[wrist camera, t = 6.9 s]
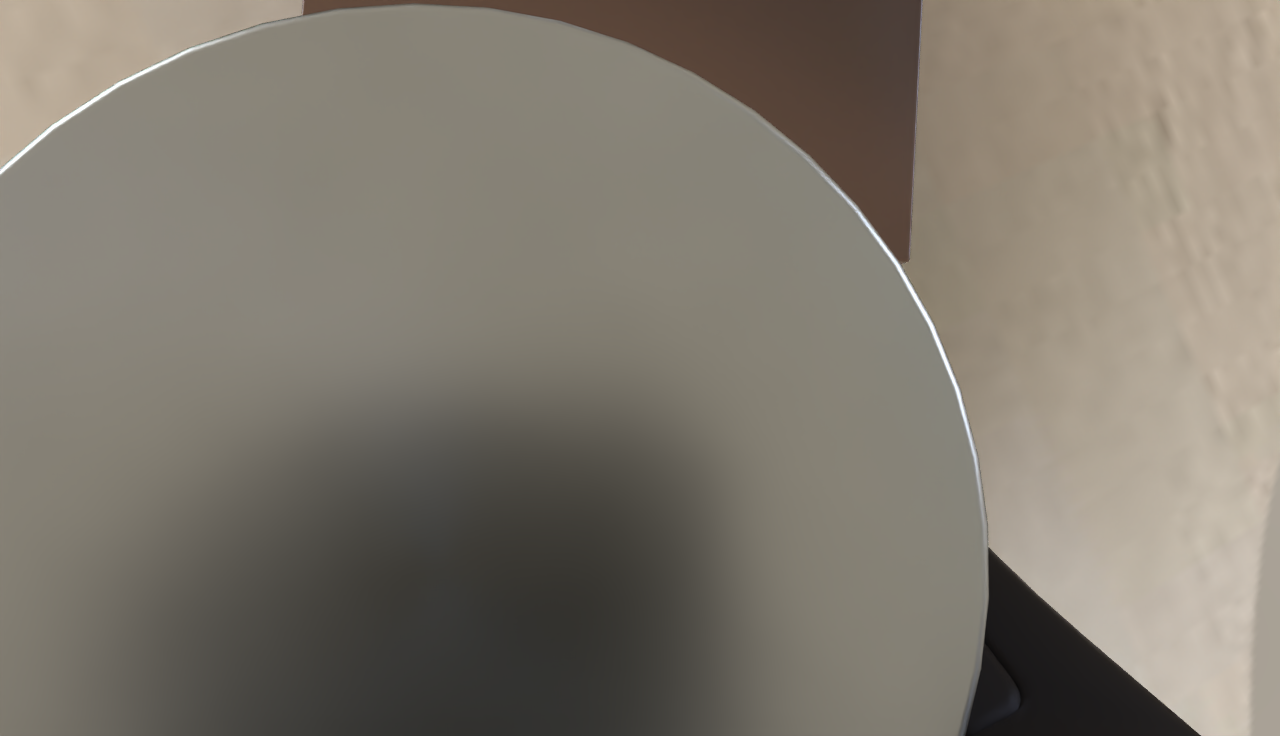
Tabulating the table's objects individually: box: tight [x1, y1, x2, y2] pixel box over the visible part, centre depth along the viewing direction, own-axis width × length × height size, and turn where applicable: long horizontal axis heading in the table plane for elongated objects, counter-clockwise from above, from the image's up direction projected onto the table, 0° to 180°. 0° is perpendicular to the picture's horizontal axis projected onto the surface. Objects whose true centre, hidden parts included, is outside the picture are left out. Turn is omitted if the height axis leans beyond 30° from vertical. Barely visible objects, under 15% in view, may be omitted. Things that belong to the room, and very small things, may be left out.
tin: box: [0, 3, 989, 736], centre depth 9 cm, size 5×5×10 cm
